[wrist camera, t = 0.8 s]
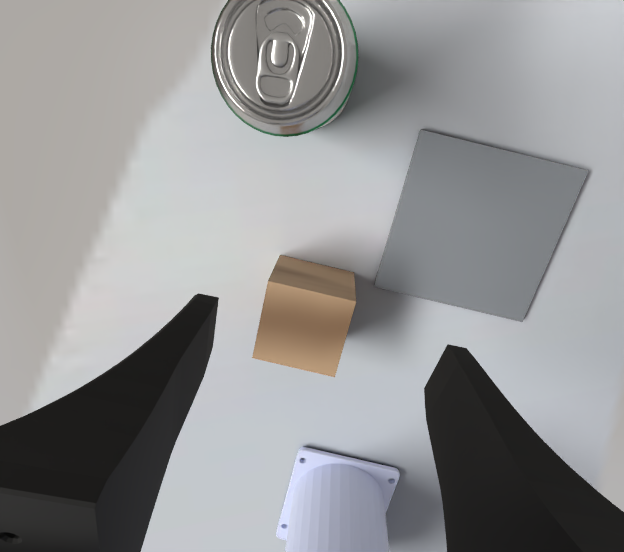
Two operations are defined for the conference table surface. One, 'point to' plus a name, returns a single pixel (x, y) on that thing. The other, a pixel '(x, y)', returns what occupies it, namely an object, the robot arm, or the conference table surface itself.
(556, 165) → the pad
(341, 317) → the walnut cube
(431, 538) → the conference table surface
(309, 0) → the soda can
